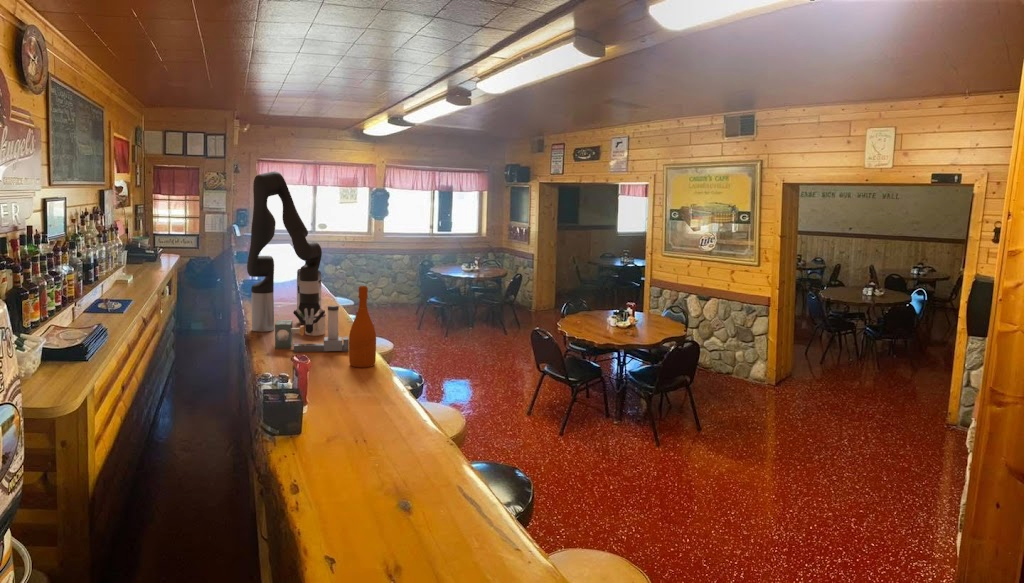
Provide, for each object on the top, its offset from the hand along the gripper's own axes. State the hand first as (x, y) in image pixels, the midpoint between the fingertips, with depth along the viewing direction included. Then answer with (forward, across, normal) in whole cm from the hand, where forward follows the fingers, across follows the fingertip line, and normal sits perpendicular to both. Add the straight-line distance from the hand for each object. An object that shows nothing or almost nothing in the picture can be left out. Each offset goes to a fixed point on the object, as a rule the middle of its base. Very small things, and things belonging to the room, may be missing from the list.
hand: (309, 332), depth 265 cm
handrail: (+5, +4, -8) cm, 11 cm away
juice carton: (+6, -2, +43) cm, 43 cm away
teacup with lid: (+6, +2, +20) cm, 21 cm away
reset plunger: (+1, -7, 0) cm, 7 cm away
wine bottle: (+6, +20, -30) cm, 37 cm away
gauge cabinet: (+5, -10, 0) cm, 11 cm away
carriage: (+5, +10, -8) cm, 14 cm away
